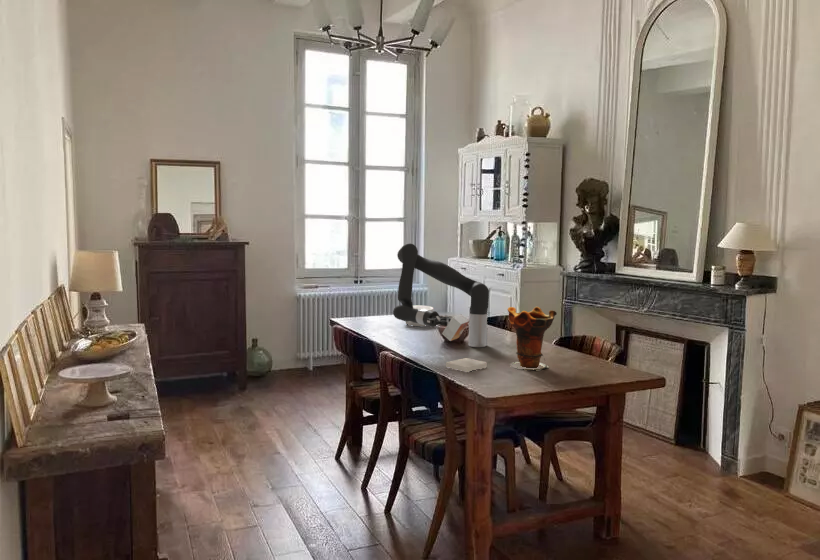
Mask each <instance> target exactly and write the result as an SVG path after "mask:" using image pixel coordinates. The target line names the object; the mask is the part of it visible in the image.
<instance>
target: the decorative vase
mask: <svg viewBox="0 0 820 560" xmlns="http://www.w3.org/2000/svg"><path fill="white" fill-rule="evenodd" d="M507 312H508V319H509V323H510V324H511V326H512V327H513V329H514V330H515V332H516V333H515V336H516V341H515V342H516V356H517V359H518V361H514V362H515V363H514V362H512V363H513V364H516V363H520V366H522V367H526V368H537V367H538V366H539V365H541V366H543V367H542V368H540V369H534V370H536V371H541V370H544V369H548V368H549V366H548V365H547V364H545V363H542V362H541V358H542V357H544V355H543V353H542V349H543V343H544V336H545V332H546V331H547V330H548V329H549V328H550V327H551V326H552V325H553V321H554V319H555V316H556V315H557V313H558V312H557V311H556V310H553V309H552V310H549V311H548V314H545V313H544V311H543V310H542V309H541V307H539V306H535V307H533V309H531V311H526V310H522V311H521V312H517V308H516V307H514V306H509V307H508V308H507ZM543 360H544V361H546V360H545V358H543ZM513 364H512V365H513ZM546 365H547V366H546ZM517 368H518V367H517ZM527 370H533V369H524V370H523V371H527Z"/></svg>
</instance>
